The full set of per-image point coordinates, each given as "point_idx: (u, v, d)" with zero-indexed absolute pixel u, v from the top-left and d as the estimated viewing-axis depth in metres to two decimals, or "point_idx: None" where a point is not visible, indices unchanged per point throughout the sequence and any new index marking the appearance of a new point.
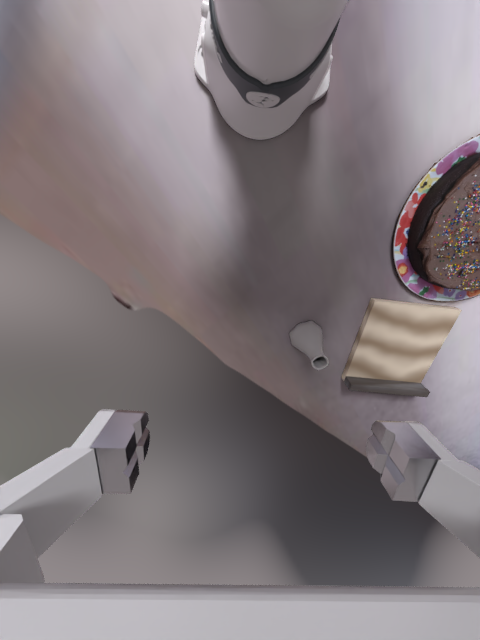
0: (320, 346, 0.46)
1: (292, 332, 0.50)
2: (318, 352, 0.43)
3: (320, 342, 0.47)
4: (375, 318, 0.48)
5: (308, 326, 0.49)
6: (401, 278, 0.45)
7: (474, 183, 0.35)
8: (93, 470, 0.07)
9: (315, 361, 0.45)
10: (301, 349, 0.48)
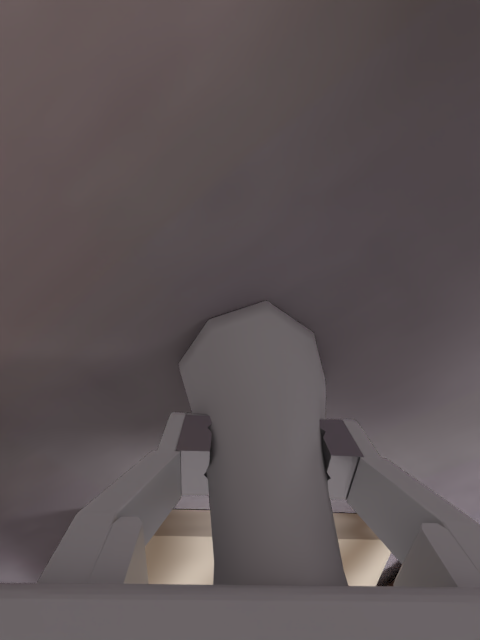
0: None
1: (279, 315, 0.11)
2: None
3: None
4: None
5: (321, 379, 0.11)
6: None
7: None
8: (177, 472, 0.07)
9: None
10: (239, 391, 0.08)
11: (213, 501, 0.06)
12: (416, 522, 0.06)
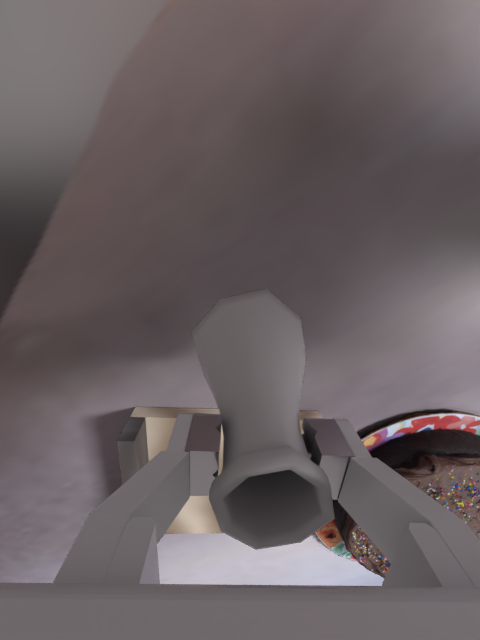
0: None
1: (275, 301, 0.14)
2: None
3: None
4: None
5: (303, 354, 0.14)
6: None
7: None
8: (187, 473, 0.07)
9: None
10: (243, 346, 0.11)
11: (222, 409, 0.09)
12: (405, 521, 0.06)
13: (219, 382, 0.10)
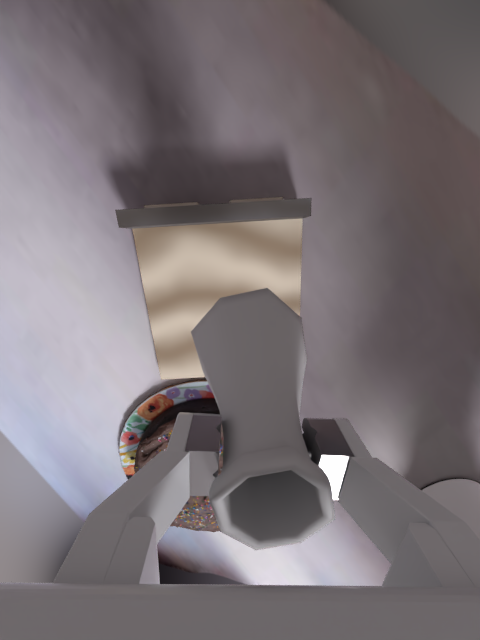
0: None
1: (276, 300, 0.14)
2: None
3: None
4: None
5: (303, 354, 0.14)
6: None
7: None
8: (187, 473, 0.07)
9: None
10: (244, 345, 0.11)
11: (222, 408, 0.09)
12: (405, 521, 0.06)
13: (219, 381, 0.10)
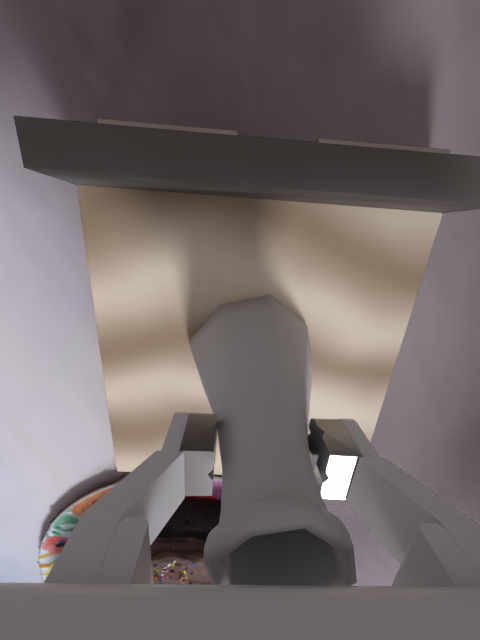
0: None
1: (280, 307, 0.13)
2: None
3: None
4: None
5: (310, 366, 0.13)
6: None
7: None
8: (181, 472, 0.07)
9: None
10: (246, 360, 0.10)
11: (221, 435, 0.08)
12: (415, 521, 0.06)
13: (218, 401, 0.09)
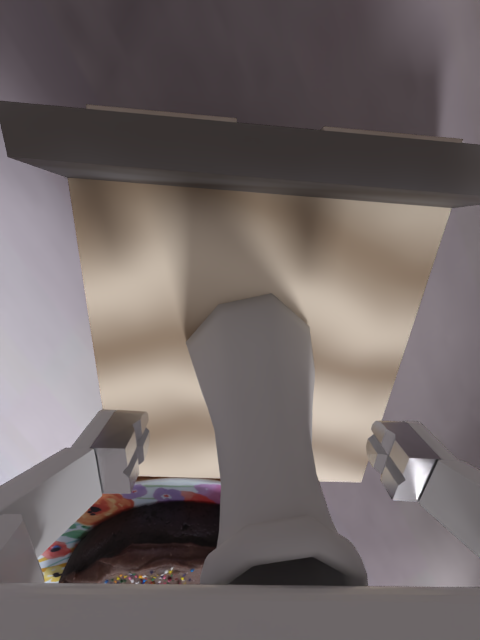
0: None
1: (281, 307, 0.12)
2: None
3: None
4: (352, 442, 0.16)
5: (312, 367, 0.12)
6: None
7: None
8: (93, 470, 0.07)
9: None
10: (245, 363, 0.09)
11: (220, 444, 0.07)
12: None
13: (216, 407, 0.08)
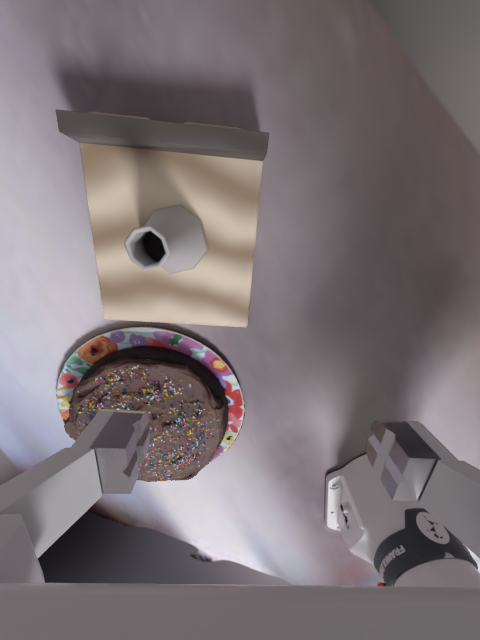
0: (173, 258, 0.22)
1: (185, 210, 0.25)
2: (169, 247, 0.19)
3: (178, 259, 0.23)
4: (237, 299, 0.30)
5: (201, 241, 0.25)
6: (216, 355, 0.33)
7: (197, 461, 0.35)
8: (93, 470, 0.07)
9: (139, 244, 0.20)
10: (157, 220, 0.22)
11: (141, 238, 0.20)
12: None
13: None
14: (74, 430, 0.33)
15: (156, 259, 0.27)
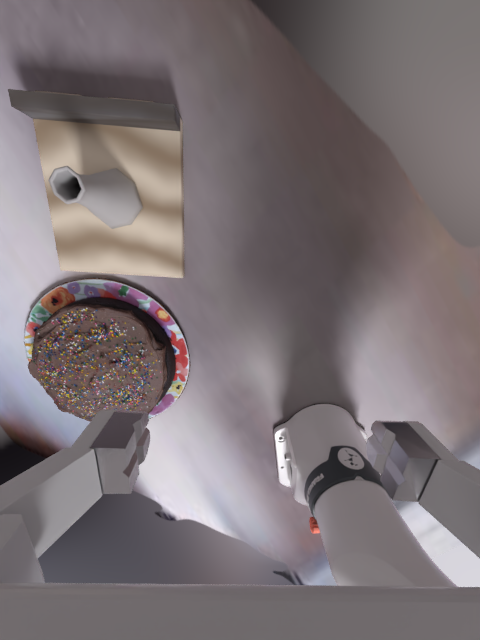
0: (100, 204, 0.27)
1: (119, 172, 0.31)
2: (88, 188, 0.24)
3: (107, 207, 0.28)
4: (171, 251, 0.35)
5: (132, 197, 0.31)
6: (159, 305, 0.38)
7: (144, 402, 0.40)
8: (93, 470, 0.07)
9: (68, 188, 0.25)
10: None
11: (71, 185, 0.26)
12: None
13: None
14: (36, 369, 0.38)
15: None
